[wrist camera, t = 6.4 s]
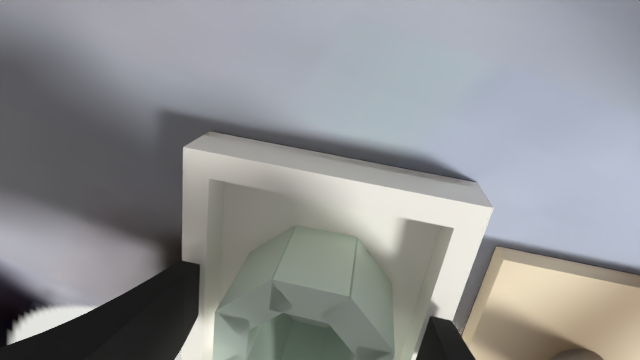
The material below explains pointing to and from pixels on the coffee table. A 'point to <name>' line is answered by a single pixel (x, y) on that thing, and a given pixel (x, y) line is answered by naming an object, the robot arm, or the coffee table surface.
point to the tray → (328, 225)
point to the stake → (553, 311)
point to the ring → (307, 302)
